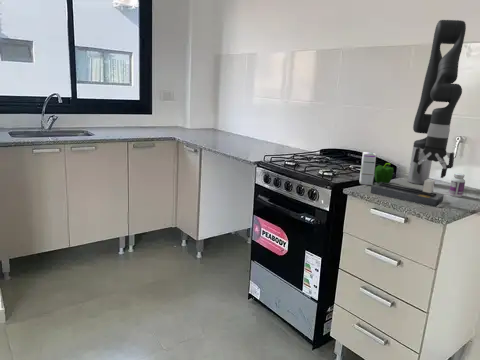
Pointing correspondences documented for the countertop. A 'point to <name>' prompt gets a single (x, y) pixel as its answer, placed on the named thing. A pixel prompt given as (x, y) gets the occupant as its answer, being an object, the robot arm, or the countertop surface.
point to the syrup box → (367, 168)
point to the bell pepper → (383, 173)
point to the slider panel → (407, 194)
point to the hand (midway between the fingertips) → (430, 175)
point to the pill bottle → (457, 185)
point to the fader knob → (428, 186)
